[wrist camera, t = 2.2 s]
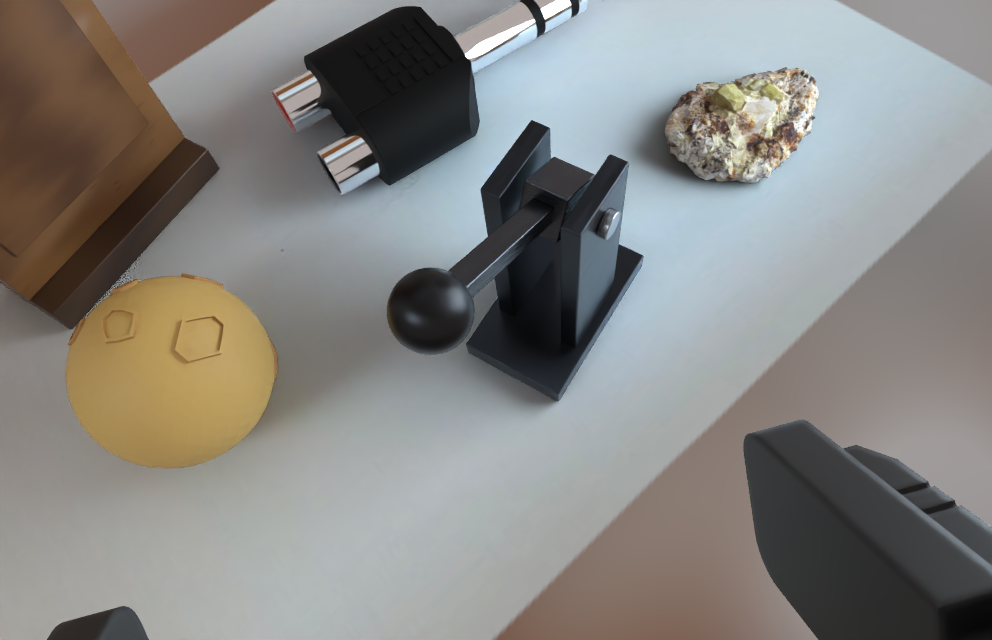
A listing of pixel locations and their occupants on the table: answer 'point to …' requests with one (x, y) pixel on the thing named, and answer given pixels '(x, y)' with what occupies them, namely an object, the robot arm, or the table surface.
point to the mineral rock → (742, 124)
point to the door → (81, 157)
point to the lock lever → (481, 264)
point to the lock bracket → (554, 273)
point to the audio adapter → (406, 86)
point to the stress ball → (170, 371)
